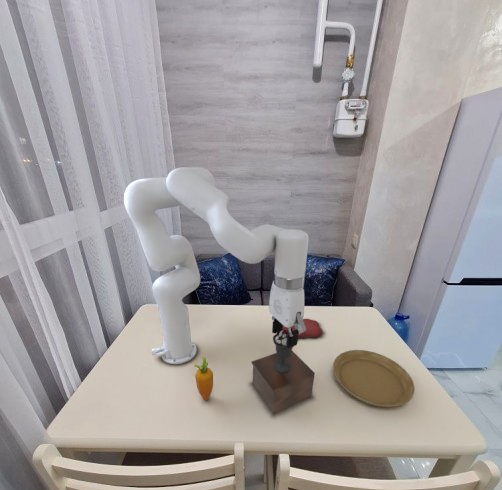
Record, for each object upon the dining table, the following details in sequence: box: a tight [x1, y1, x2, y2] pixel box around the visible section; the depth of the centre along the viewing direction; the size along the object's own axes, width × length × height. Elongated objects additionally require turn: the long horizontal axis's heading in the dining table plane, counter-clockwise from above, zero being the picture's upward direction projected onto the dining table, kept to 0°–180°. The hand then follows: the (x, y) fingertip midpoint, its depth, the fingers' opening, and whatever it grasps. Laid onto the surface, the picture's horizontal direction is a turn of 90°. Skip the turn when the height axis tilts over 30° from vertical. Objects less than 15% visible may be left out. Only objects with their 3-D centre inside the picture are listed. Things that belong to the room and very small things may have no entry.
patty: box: [283, 318, 324, 339], centre depth 112 cm, size 18×14×2 cm
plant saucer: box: [332, 349, 416, 409], centre depth 85 cm, size 24×24×3 cm
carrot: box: [193, 357, 214, 402], centre depth 75 cm, size 5×5×15 cm
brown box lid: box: [250, 350, 316, 392], centre depth 78 cm, size 14×13×1 cm
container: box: [252, 365, 316, 415], centre depth 80 cm, size 14×13×9 cm
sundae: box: [272, 328, 295, 372], centre depth 74 cm, size 7×7×15 cm
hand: (284, 338), depth 73 cm, fingers closed on sundae, 6 cm apart
